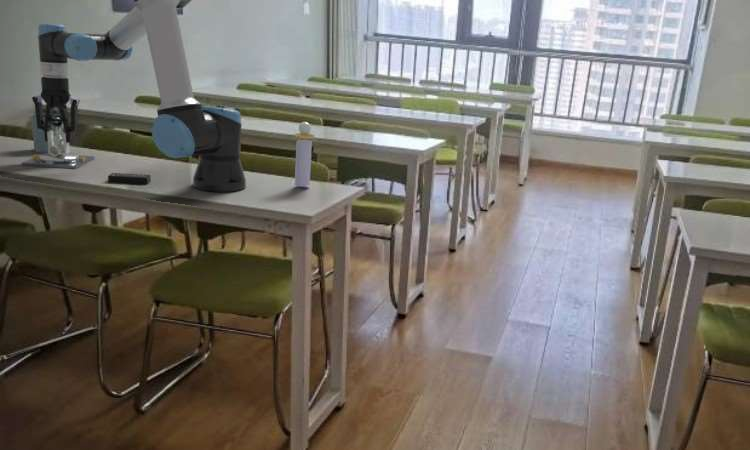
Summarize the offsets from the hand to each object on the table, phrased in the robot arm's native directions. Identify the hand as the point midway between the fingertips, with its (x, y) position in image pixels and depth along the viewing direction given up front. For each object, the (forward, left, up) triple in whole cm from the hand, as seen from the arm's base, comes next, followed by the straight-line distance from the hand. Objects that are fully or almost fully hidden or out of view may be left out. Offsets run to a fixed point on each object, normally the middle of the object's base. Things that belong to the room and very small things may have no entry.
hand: (59, 152), depth 205 cm
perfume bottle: (-14, -77, -3) cm, 78 cm away
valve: (0, 0, -1) cm, 1 cm away
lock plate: (0, 0, -3) cm, 3 cm away
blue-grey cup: (+17, +10, -3) cm, 20 cm away
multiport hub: (-20, -28, -4) cm, 34 cm away
